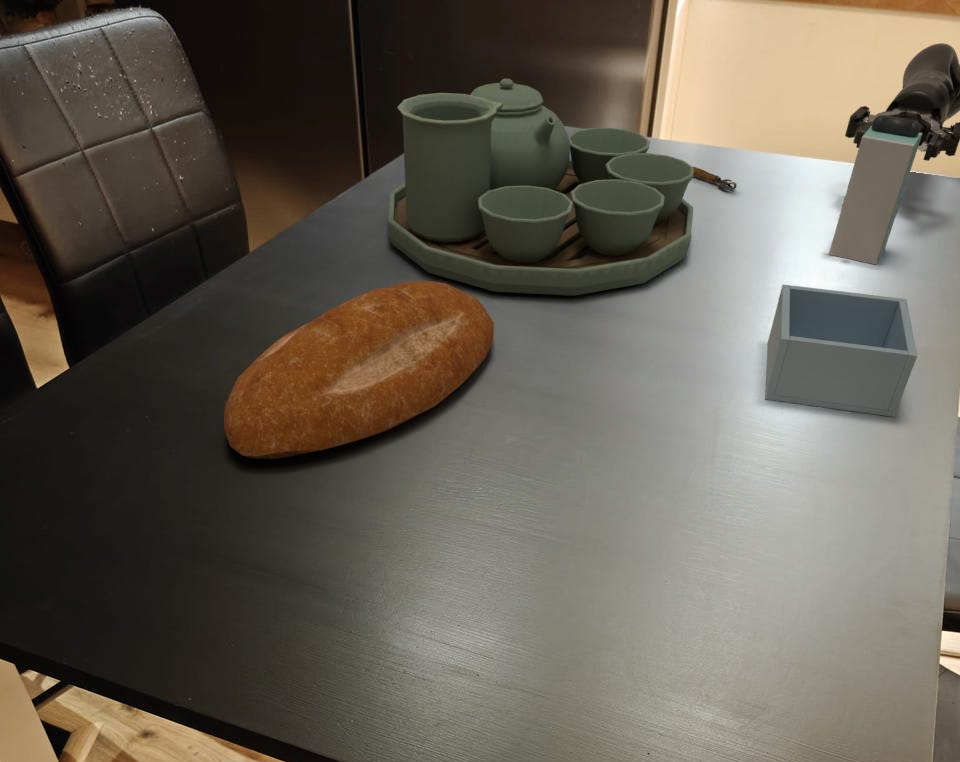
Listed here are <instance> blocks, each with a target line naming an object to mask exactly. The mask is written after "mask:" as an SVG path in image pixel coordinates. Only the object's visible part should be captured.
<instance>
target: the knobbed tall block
mask: <svg viewBox="0 0 960 762" xmlns="http://www.w3.org/2000/svg"><path fill="white" fill-rule="evenodd" d="M920 129H921V126H920V124H919V122H918V121H915V120H910V119H904V118H898V117H892V116H886V115H880V116H878V117H876V118H875V119H874V120H873V122H872V126H871V127H870V128H869V129H868V130H867V132H866V133H865V134H864V135H863V137H862V139H861V142H860V146H859V148H857V149H858V150H857V153H856V156H855V161H854V164H853V167H852V171H851V174H850V178H849V182H848V185H847V189H846V192H845V196H844V199H843V203H842V206H841V210H840V213H839V217H838V221H837V224H836V228H835V230H834V234H833V237H832V241H831V242H832V243H831V245H830V247H829V252H828V255H829V256H834V257H839V258H844V259H849V260H853V261H858V262H862V263H866V264H867V263H868V264H872V265H877V263H878V262H879V260H880V258H881V256H882V255H883V253H884V251H885V250H886V247H887V244H888V241H889V238H890V235H891V232H892V229H893V226H894V223H895V220H896V216H897V213H898V211H899V207H900V204H901V200H902V198H903V195H904V193H905V189H906V186H907V183H908V180H909V176H910V174H911V170H912V167H913V164H914V161H915V158H916V155H917V152H918V146H919V143H920V140H921V137H922V133H919V132H920Z"/></svg>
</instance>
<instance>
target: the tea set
mask: <svg viewBox="0 0 960 762" xmlns="http://www.w3.org/2000/svg"><path fill="white" fill-rule="evenodd" d="M543 104H544V99H543V96H542V94H541V93H540V92H539V91H538V90H537V89H535V88H533V87H531V86H529V85H525V84H519V83H515V82H514V81H513V80H512V79H510V78H503V79H501V81H499V82H493V83H486V84H484V85H480V86H478V87H476V88H474V89H473V91H472V92H471V93H470V94H466V93H455V92H454V93H450V92H436V93H435V92H434V93H427V94H417V95H415V96H412V97H408V98H406V99H403V100H402V101H401V102H400V103H399V105H397V109H398V111H399V112H400V114H401V115H402V131H403V132H402V133H403V134H402V135H403V160H404V183H403V184H401V185H400V186H398V187H396V188H395V189H393V190H392V191H391V192H390V193H389V197H388V200H389V201H388V220H387V225H388V227H387V228H388V237H389V239H390V241H391V244H392V245H393V247H395V248H396V249H397V250H399V251H400V252H402V253H403V254H404V255H405V256H406V257H407V258H409V259H411V260H412V261H413V262H414V263H416V264H417V265H418V266H419V267H420V268H422V269H423V270H424V271H425V272H427V273H429V274H433V275H435V276H439V277H443V278H446V279H450V280H453V281H455V282H460V283H464V284H466V285H470V286H474V287H477V288H481V289H484V290H487V291H491V292H494V293H496V292H497V293H515V294H535V295H553V296H554V295H555V296H556V295H557V296H571V297H572V296H581V295H586V294H591V293H597V292H602V291H607V290H608V291H609V290H614V289H619V288H625V287H631V286H637V285H642V284H645V283H646V282H648V281H650V280H652V279H654V278H655V277H656V276H659V275H660V274H661V273H663V272H664V271H666V270H668V269H669V268H671V267H672V266H674V265H676V264H678V263H679V262H681V261H682V260H684V258H685V257H686V255H687V254H688V252H689V249H690V246H691V245H690V243H691V239H692V230H693V217H694V206H692V205H691V204H690V203H689V202H687V200H685V199H684V198H683V197H684V195H685V193H686V190H687V188H688V185H689V184H690V182H691V181H692V180H693V178H694V175H693V174H694V168H693V167H694V166H692V165H690V164H689V163H688V162H687V161H685V160H683V159H680V158H676V157H674V156H670V155H666V154H660V153H659V154H658V153H649V152H648V151H649V149H650V145H651V144H650V143H651V141H650V140H649V139H648V138H647V137H645V136H644V135H643V134H641V133H638V132H635V131H631V130H628V129H623V128H615V127H588V128H584V129H580V130H575V131H573V132H572V133H570V135H568V132H567V129H566V128H565V125H564V124H563V123H564V122H562V121H561V119H560V118H559V117H558V116H557V114H556V113H555V112H553V110H550V109H549V108H547V107H546V106H544V105H543Z"/></svg>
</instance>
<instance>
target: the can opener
mask: <svg viewBox="0 0 960 762" xmlns="http://www.w3.org/2000/svg"><path fill="white" fill-rule="evenodd" d="M692 167H693V168H694V174H693V177H696V178H699V179H701V180H706V181H709V182H711V183H713V184H718V186H719V187H720V188H723V189H725V190H729V191H730V190H731V191H735V190H737V189H736V188H737V182H735V181H733V182H732V180H731V179H728V178H727V179H722V178H721V176H719V175H715V174H713V173H710V172H708V171H706V170H704V169H702V168H699V167H696V166H692Z"/></svg>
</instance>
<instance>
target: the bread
mask: <svg viewBox="0 0 960 762" xmlns="http://www.w3.org/2000/svg"><path fill="white" fill-rule="evenodd" d="M494 331H495V322H494V321H493V319H492V317H491V316H490V314H489V313H488V311H487V310H486V308H485V306H484V305H483V303H481V301H480V300H479V299H478V298H476V297H475V296H472V295H470V294H469V293H466V292H464V291H462V290H460V289H459V288H456V287H454V286H452V285H450V284H448V283H445V282H439V281H431V280H423V281H421V280H419V281H404V282H401V283H397V284H394V285H391V286H388V287H380V288H379V287H378V288H377V287H376V288H374V289H372V290H369V291H367V292H365V293H362V294H361V295H358V296H356V297H353V298H352V299H349V300H347V301H345V302H343V303H341V304H339V305H337V306H336V307H333V308H331V309H330V310H328V311H326V312H324V313H322V314H321V315H319V316H317V317H316V318H314V319H312V320H311V321H309V322H307V323H305V324H303V325H301V326H300V327H298V328H295V329H293V330H292V331H289V332H287V333H286V334H284V335H283V336H282V337H280V338H279V339H278V340H276V341H275V342H273V344H271V345H270V346H269V347H268V348H266V350H265V351H263V353H261V354H260V355H259V356H257V358H256V359H255V360H253V362H252V363H251V364H250V365H249V366H248V367H247V368H246V369H244V371H243V372H242V373H241V374H240V375H239V376H238V377H237V379H236V381H235V383H234V386H233V388H232V389H231V392H230V394H229V396H228V397H227V400H226V402H225V404H224V406H223V430H224V433H225V436H226V439H227V441H228V444H229V447H230V448H232V450H234V451H235V452H237V453H238V454H240V455H241V456H243V457H247V458H249V459H253V460H259V459H260V460H277V459H278V460H279V459H283V458H288V457H293V456H298V455H299V456H300V455H304V454H311V453H314V452H315V453H316V452H319V451H320V452H321V451H324V450H328V449H332V448H335V447H339V446H342V445H346V444H351V443H353V442H356V441H359V440H362V439H366V438H369V437H372V436H376V435H379V434H381V433H384V432H386V431H388V430H391V429H393V428H395V427H398V426H399V425H401V424H403V423H405V422H407V421H409V420H411V419H413V418H414V417H417V416H418V415H420V414H423V413H424V412H426V411H428V410H430V409H432V408H434V407H436V406H437V405H439V404H440V403H441V402H442V401H444V399H446V398H447V397H448V396H450V394H452V393H453V392H454V391H455V390H456V389H458V388H459V387H460V386H462V385H463V384H464V383H465V382H466V381H467V380H469V378H470V377H471V375H472V374H473V373H474V372H475V371H476V370H477V368H478V367H479V366H480V365H481V363H483V362H484V360H485V359H486V358H487V356H488V353H489V351H490V349H491V347H492V344H493V341H494V333H495V332H494Z"/></svg>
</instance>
